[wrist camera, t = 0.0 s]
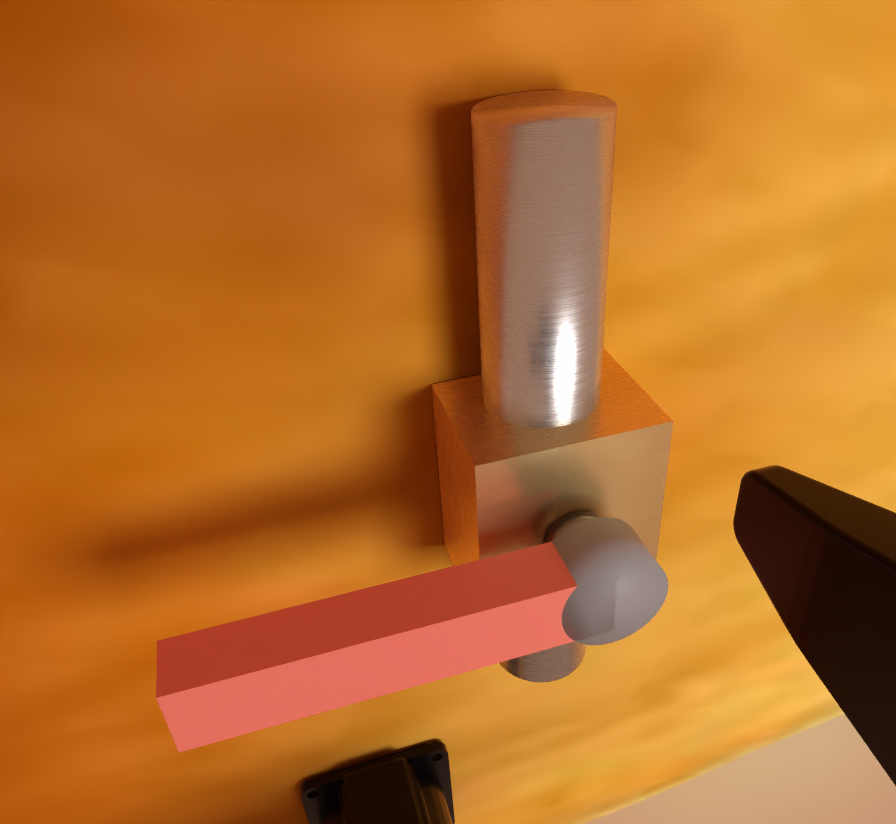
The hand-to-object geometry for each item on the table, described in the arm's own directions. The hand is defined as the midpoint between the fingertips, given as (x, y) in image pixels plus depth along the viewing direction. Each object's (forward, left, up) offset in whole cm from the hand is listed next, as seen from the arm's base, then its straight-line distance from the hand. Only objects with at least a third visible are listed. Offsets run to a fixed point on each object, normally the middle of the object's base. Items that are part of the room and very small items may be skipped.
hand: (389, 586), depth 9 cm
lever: (-10, -2, -9) cm, 14 cm away
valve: (-8, -7, -15) cm, 18 cm away
